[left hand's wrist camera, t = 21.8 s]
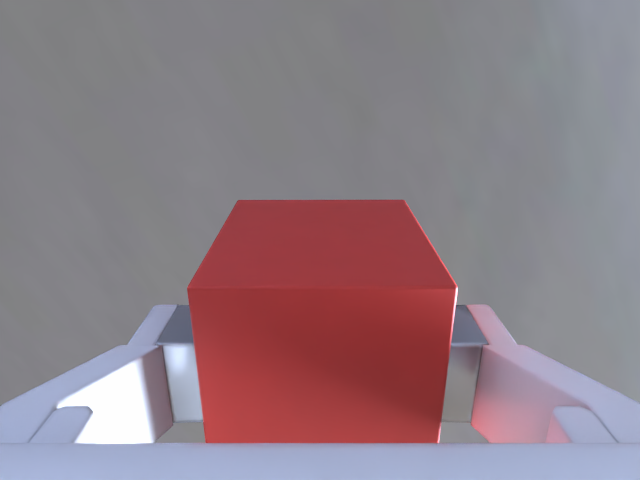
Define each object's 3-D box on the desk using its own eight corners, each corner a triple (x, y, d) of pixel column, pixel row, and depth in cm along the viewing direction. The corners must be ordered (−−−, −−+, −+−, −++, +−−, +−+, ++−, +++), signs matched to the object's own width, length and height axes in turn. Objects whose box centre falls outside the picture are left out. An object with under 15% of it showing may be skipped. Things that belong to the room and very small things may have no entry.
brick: (404, 199, 12) (459, 286, 7) (394, 349, 13) (433, 497, 9) (237, 199, 11) (185, 287, 7) (247, 349, 13) (211, 497, 9)
